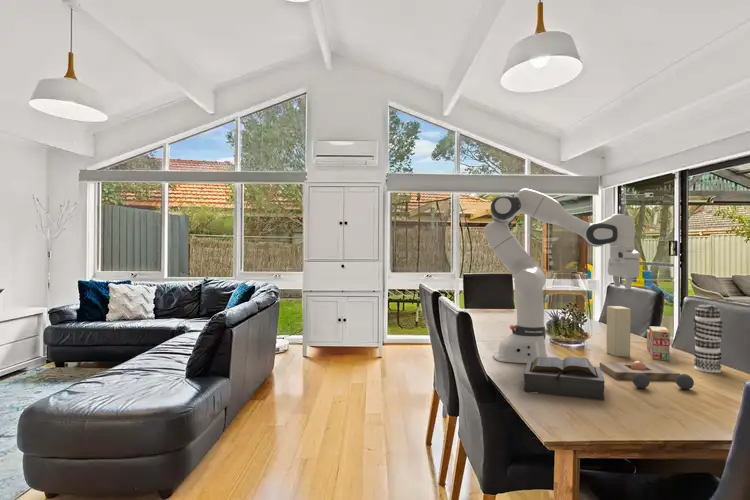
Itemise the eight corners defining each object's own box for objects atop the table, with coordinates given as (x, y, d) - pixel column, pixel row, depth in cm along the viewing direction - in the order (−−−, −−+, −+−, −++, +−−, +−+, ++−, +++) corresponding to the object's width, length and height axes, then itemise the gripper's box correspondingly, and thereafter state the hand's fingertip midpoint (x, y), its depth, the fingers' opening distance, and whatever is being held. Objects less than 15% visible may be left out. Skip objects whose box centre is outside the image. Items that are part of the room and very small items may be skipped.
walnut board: (615, 379, 162) (615, 372, 162) (599, 368, 176) (599, 362, 176) (679, 380, 160) (679, 373, 160) (658, 369, 174) (658, 363, 174)
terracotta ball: (634, 376, 166) (635, 363, 165) (627, 371, 171) (628, 358, 170) (648, 377, 165) (649, 363, 165) (641, 372, 170) (642, 359, 170)
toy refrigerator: (632, 356, 195) (632, 308, 195) (615, 356, 195) (615, 308, 195) (622, 352, 203) (622, 306, 203) (606, 352, 203) (606, 306, 203)
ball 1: (636, 390, 149) (636, 375, 149) (629, 385, 154) (629, 371, 154) (652, 390, 149) (652, 375, 149) (644, 385, 154) (644, 371, 154)
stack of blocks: (646, 348, 210) (646, 322, 210) (662, 350, 208) (662, 323, 208) (652, 359, 191) (652, 330, 191) (670, 360, 188) (670, 331, 188)
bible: (602, 406, 135) (602, 373, 135) (512, 391, 150) (512, 361, 150) (611, 386, 155) (611, 357, 155) (530, 374, 170) (530, 348, 170)
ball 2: (681, 391, 148) (681, 376, 148) (672, 386, 153) (672, 371, 153) (697, 391, 148) (697, 376, 148) (688, 386, 153) (688, 372, 153)
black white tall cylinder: (713, 374, 168) (713, 307, 168) (687, 367, 177) (687, 304, 176) (728, 371, 172) (728, 306, 172) (702, 365, 180) (702, 303, 180)
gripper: (603, 253, 193) (603, 285, 193) (625, 254, 173) (625, 290, 173) (619, 253, 193) (619, 285, 193) (643, 254, 172) (643, 290, 172)
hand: (622, 287), depth 183 cm, fingers open, 8 cm apart
